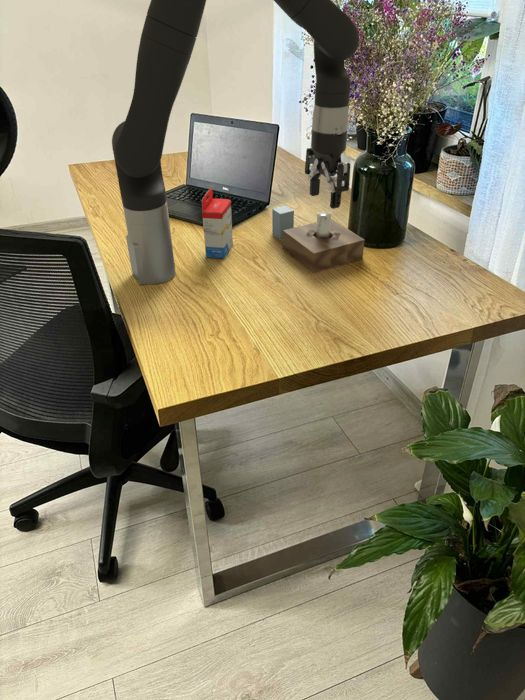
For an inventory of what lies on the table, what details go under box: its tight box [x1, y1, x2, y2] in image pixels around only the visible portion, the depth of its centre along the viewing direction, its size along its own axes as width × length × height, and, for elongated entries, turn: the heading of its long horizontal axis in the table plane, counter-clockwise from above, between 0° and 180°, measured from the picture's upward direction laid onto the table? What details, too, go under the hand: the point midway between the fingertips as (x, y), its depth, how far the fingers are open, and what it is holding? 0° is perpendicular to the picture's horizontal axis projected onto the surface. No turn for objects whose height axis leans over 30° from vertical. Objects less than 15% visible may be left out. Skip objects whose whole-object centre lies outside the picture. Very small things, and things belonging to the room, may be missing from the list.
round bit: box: [316, 211, 332, 239], centre depth 129 cm, size 3×3×10 cm
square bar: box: [271, 205, 295, 241], centre depth 139 cm, size 4×4×7 cm
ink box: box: [201, 186, 234, 259], centre depth 130 cm, size 8×5×15 cm, turn 168°
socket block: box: [282, 218, 365, 274], centre depth 131 cm, size 14×14×5 cm
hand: (324, 201), depth 124 cm, fingers open, 8 cm apart
